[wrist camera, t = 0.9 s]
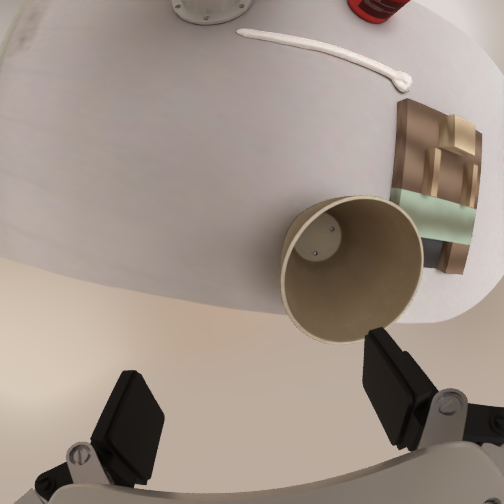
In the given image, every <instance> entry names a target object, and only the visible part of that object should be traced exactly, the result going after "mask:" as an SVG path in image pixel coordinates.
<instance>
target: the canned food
mask: <svg viewBox="0 0 504 504" xmlns="http://www.w3.org/2000/svg"><path fill="white" fill-rule="evenodd" d="M409 1H410V0H348V3H349V5H350V7H351V9H352V10H353V11H354V12H355V13H356V14H357V15H358V16H359V17H361V18H362V19H364V20H366V21H368V22H371V23H382V22H385V21H387V20H388V19H389V18H390V17H391V16H392V15H393V14H395V13H396V12H397V11H398V10H399V9H400V8H402V7H403V6H404V5H405V4H406V3H408V2H409Z"/></svg>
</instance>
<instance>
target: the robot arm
mask: <svg viewBox="0 0 504 504" xmlns="http://www.w3.org/2000/svg"><path fill="white" fill-rule="evenodd" d="M171 2H172V7H173V9H174V11H175V13H176V14H177V15H178V16H179V17H180V18H181V19H183V20H185V21H187V22H190V23H194V24H200V25H211V24H219V23H224V22H227V21H230V20H233V19H235V18H237V17H239V16H240V15H242V14H243V13H244V12H246V10H247V9H248V8H249V7H250V6H251V4H252V2H253V0H171ZM362 382H363V387H364V389H365V391H366V393H367V395H368V397H369V399H370V401H371V403H372V405H373V407H374V409H375V411H376V413H377V415H378V417H379V420H380V421H381V423H382V426H383V428H384V430H385V432H386V434H387V436H388V438H389V440H390V442H391V444H392V445H393V446H394V445H397V448H398V449H399V450H401V449H403V448H406V447H407V448H408V450H409V451H411V452H410V453H407V454H404V455H402V456H399V457H396V458H393V459H391V460H388V461H385V462H382V463H380V464H377V465H374V466H371V467H368V468H365V469H361V470H358V471H355V472H352V473H348V474H345V475H341V476H337V477H333V478H330V479H326V480H322V481H317V482H312V483H307V484H302V485H297V486H291V487H285V488H278V489H271V490H262V491H252V492H239V493H209V494H206V493H204V494H202V493H201V494H200V493H175V492H162V491H153V490H144V489H135V488H134V485H135V484H140V485H147V480H149V479H150V478H151V475H152V471H153V466H154V462H155V458H156V453H157V449H158V445H159V441H160V436H161V432H162V428H163V424H164V420H165V419H164V413H163V412H162V410H161V408H160V407H159V405H158V403H157V401H156V400H155V398H154V396H153V395H152V393H151V391H150V389H149V388H148V386H147V384H146V382H145V380H144V378H143V377H142V375H141V374H140V373H138V372H137V371H135V370H128V371H123V372H122V373H121V375H120V377H119V379H118V381H117V383H116V385H115V387H114V389H113V391H112V393H111V395H110V397H109V399H108V401H107V404H106V406H105V408H104V410H103V412H102V414H101V416H100V418H99V420H98V423H97V425H96V427H95V429H94V431H93V434H92V436H91V438H90V439H91V443H90V444H89V443H87V442H78V443H75V444H74V445H72V446H71V447H70V448H69V449H68V451H67V454H66V460H67V462H65V463H63V464H61V465H59V466H57V467H55V468H53V469H51V470H49V471H46V472H44V473H42V474H41V475H39V476H38V478H37V479H36V481H35V490H33V489H30V490H29V491H28V492H27V493H26V494H24V496H22V497H21V498H20V499H19V500H17V501H16V502H15V503H14V504H504V407H493V406H485V405H478V404H470V403H468V400H467V397H466V395H465V394H464V393H463V392H461V391H459V390H457V389H453V388H449V389H444V390H441V391H438V390H437V389H436V387H435V386H434V385H433V383H432V382H431V381H430V379H429V378H428V377H427V375H426V374H425V373H424V372H423V370H422V369H421V368H420V366H419V365H418V364H417V363H416V361H415V360H414V359H413V358H412V356H411V355H410V354H409V353H408V352H407V351H402V350H401V349H400V348H399V346H398V345H397V344H396V342H395V341H394V340H393V339H392V337H391V336H390V335H389V334H388V333H387V331H386V330H385V329H384V328H383V327H379V328H376V329H372V330H370V331H369V332H368V335H365V342H364V366H363V379H362Z"/></svg>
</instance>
